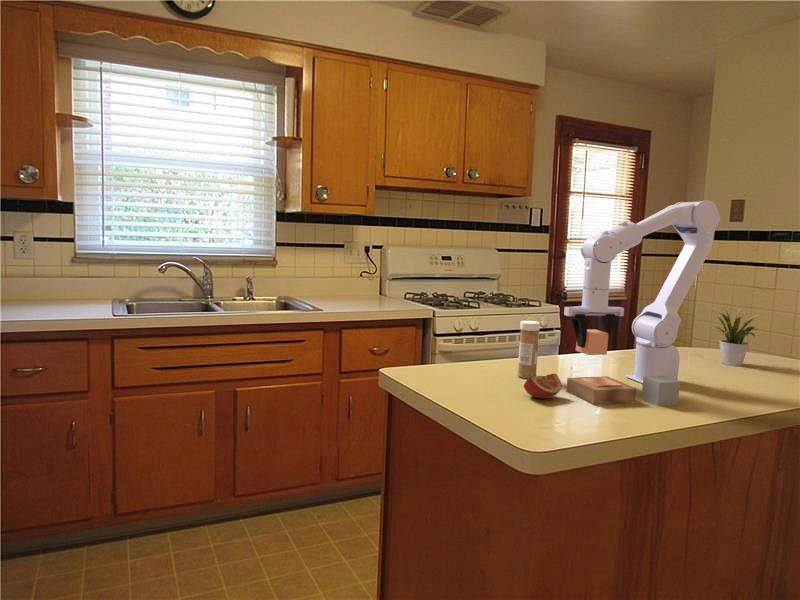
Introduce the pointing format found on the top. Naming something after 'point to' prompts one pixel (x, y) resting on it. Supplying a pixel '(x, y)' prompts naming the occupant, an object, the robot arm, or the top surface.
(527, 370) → the sprinkles bottle
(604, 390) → the walnut plinth
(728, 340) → the house plant
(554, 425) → the top surface
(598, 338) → the terracotta cube
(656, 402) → the slate cube
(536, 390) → the fruit slice
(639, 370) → the robot arm
